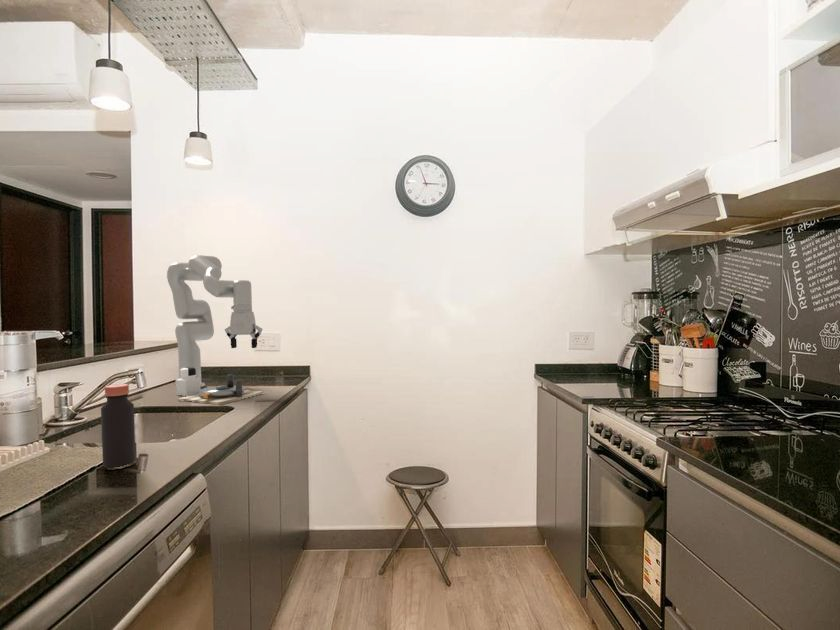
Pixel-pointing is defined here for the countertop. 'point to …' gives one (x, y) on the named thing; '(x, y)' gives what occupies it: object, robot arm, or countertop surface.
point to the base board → (223, 399)
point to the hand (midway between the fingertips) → (244, 347)
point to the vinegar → (117, 427)
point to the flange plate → (220, 389)
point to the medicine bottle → (188, 382)
